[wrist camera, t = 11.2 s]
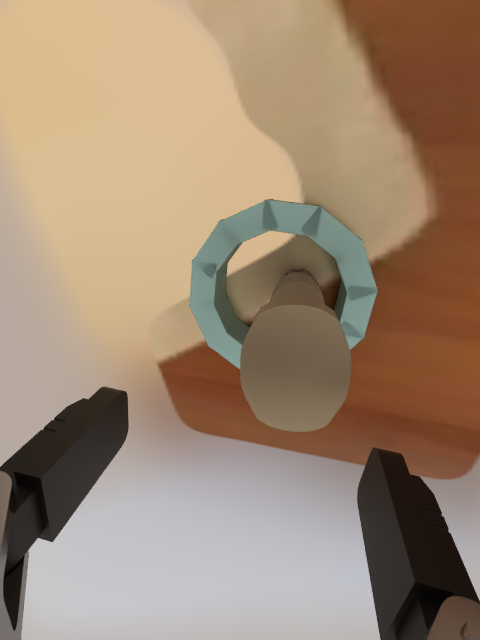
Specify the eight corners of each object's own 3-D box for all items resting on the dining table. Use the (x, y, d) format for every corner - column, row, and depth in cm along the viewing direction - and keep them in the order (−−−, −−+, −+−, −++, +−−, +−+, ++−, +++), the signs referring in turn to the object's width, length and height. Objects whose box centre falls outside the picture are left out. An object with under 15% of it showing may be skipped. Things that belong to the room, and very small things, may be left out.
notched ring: (210, 191, 26) (195, 189, 23) (385, 213, 25) (400, 215, 21) (199, 342, 32) (185, 361, 28) (342, 369, 30) (348, 393, 26)
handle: (269, 319, 29) (241, 425, 16) (271, 249, 27) (239, 302, 13) (323, 321, 29) (342, 437, 15) (329, 250, 26) (358, 307, 12)
